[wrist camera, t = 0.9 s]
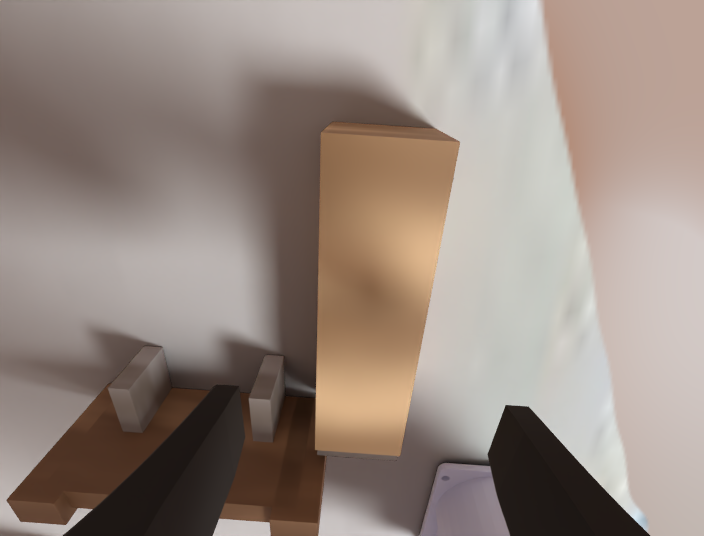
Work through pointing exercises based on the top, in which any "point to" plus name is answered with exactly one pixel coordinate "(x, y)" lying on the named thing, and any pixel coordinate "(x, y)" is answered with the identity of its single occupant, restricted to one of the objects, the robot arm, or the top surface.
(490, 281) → the top surface
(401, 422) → the tan wooden bar
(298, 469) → the wooden base
